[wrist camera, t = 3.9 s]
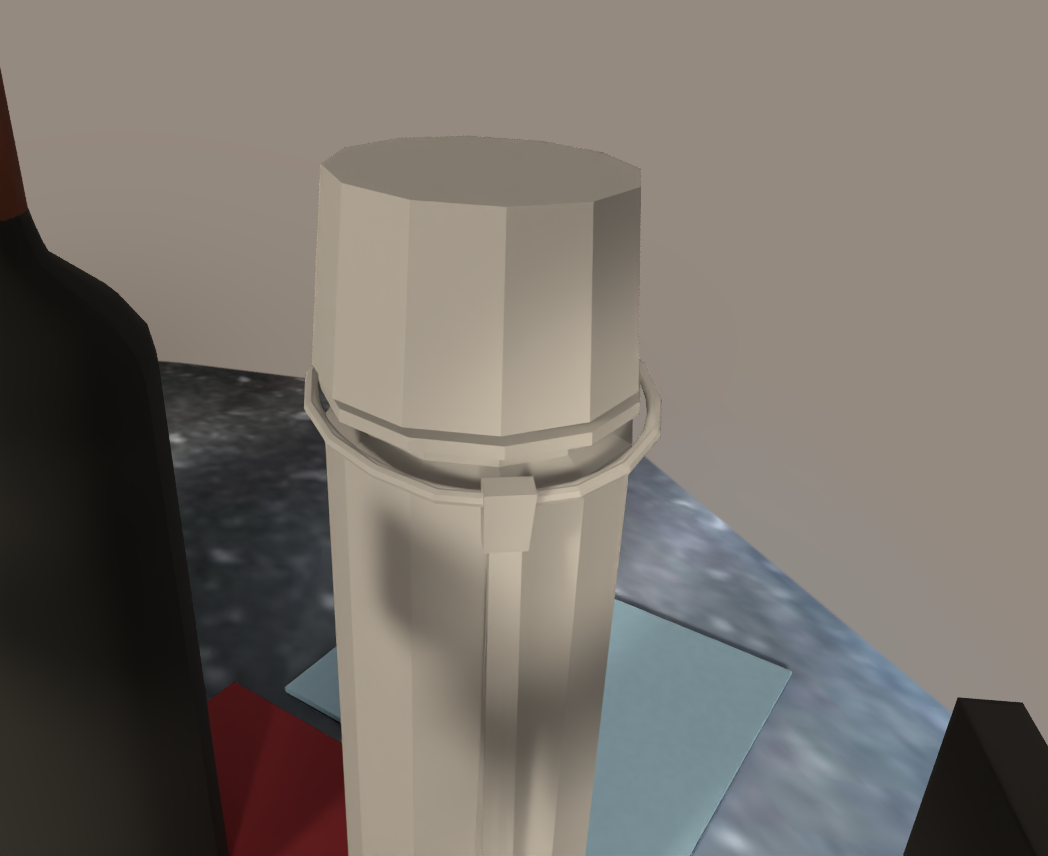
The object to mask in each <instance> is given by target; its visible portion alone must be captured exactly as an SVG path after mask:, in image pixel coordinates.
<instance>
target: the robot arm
mask: <svg viewBox="0 0 1048 856" xmlns="http://www.w3.org/2000/svg"><path fill="white" fill-rule="evenodd" d="M903 855H904V856H1048V746H1047V744H1046V742H1045V740H1044V739H1043V737H1042V736H1041V734H1040V732H1039V730H1038V728H1037V727H1036V725H1035V723H1034V722H1033V720H1032V718H1031V717H1030V715H1029V713H1028V711H1027V709H1026V708H1025V706H1024V704H1023V703H1020V702H1007V701H995V700H982V699H971V698H957V701H956V704H955V707H954V710H953V713H952V716H951V718H950V721H949V724H948V727H947V730H946V733H945V736H944V739H943V742H942V744H941V747H940V750H939V753H938V756H937V759H936V762H935V765H934V768H933V770H932V773H931V776H930V779H929V782H928V785H927V788H926V791H925V794H924V796H923V799H922V802H921V805H920V808H919V811H918V814H917V817H916V820H915V822H914V825H913V828H912V831H911V834H910V837H909V840H908V843H907V846H906V848H905V851H904V854H903Z"/></svg>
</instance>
